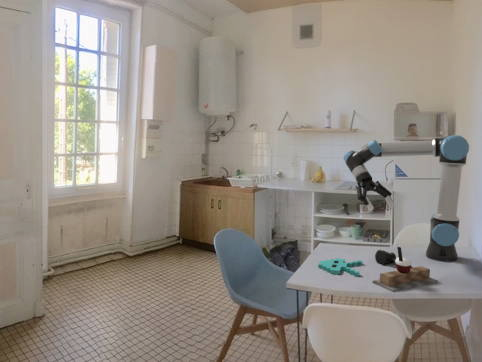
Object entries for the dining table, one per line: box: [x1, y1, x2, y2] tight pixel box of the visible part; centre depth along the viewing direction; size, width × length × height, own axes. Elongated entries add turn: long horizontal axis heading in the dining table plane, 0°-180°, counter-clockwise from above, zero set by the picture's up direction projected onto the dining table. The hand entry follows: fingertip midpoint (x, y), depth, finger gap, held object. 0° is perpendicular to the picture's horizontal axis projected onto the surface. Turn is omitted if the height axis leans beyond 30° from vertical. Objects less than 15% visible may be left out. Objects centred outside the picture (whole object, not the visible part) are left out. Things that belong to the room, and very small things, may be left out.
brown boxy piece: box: [372, 266, 439, 293], centre depth 177 cm, size 26×12×5 cm, turn 113°
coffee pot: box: [374, 249, 414, 268], centre depth 201 cm, size 8×18×8 cm
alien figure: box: [317, 257, 363, 278], centre depth 199 cm, size 20×2×20 cm
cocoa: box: [394, 246, 412, 273], centre depth 176 cm, size 10×6×12 cm, turn 112°
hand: (382, 208), depth 196 cm, fingers open, 13 cm apart
